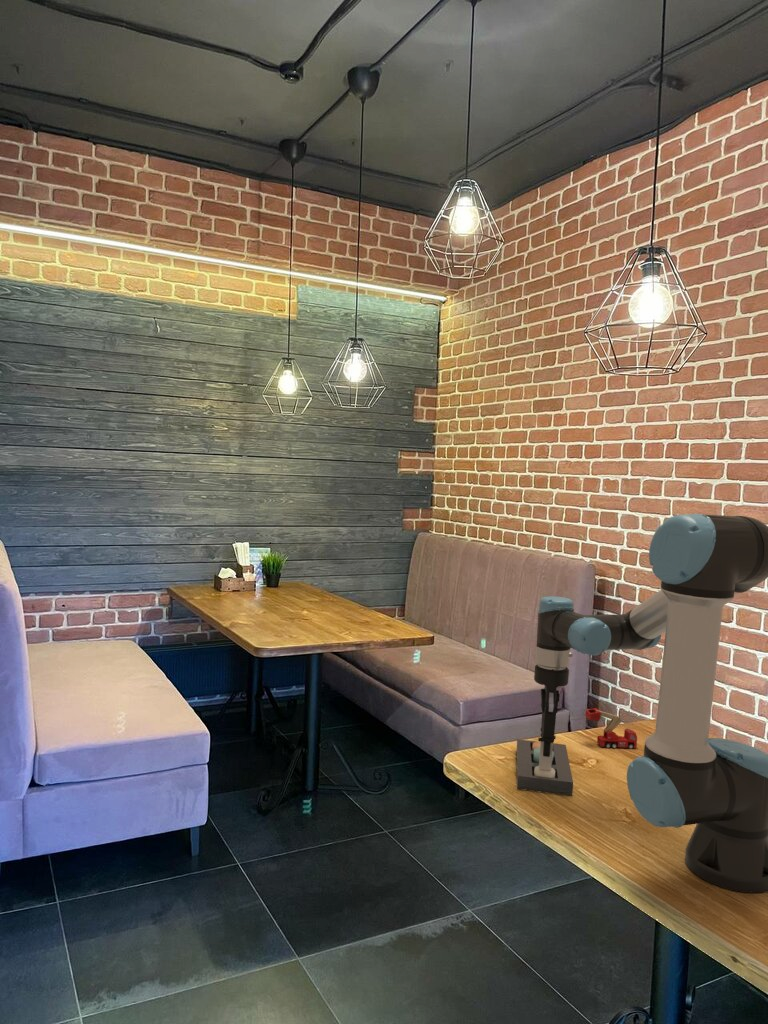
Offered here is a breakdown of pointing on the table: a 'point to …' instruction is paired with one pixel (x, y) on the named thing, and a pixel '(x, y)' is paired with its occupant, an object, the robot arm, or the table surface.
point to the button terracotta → (536, 745)
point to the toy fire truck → (609, 735)
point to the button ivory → (544, 772)
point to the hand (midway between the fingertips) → (544, 768)
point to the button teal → (537, 754)
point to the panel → (544, 784)
